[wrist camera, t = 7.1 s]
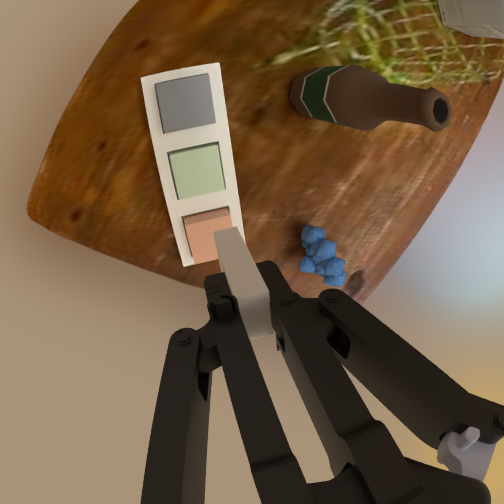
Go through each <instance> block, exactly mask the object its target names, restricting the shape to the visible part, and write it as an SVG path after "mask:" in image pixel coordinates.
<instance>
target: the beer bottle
mask: <svg viewBox="0 0 504 504" xmlns="http://www.w3.org/2000/svg"><path fill="white" fill-rule="evenodd" d="M289 99H290V100H291V102H292V103H293V105H294V107H295V108H296V110H297V111H298V113H299V114H300V115H303V116H307V117H311V118H314V119H318V120H322V121H326V122H331V123H335V124H339V125H343V126H347V127H351V128H355V129H360V130H370V129H373V128H376V127H377V126H379V125H380V124H381V123H383V122H384V121H390V120H394V121H401V122H407V123H413V124H419V125H423V126H425V127H427V128H429V129H430V130H432V131H441V130H442V129H444V128H445V127H446V126H447V125H449V122H450V118H451V113H452V109H451V106H450V102H449V99H448V97H447V96H446V95H444V94H443V93H442V92H440V91H438V90H437V89H435V88H433V87H430V88H429V89H427V90H425V89H420V88H415V87H410V86H405V85H399V84H393V83H389V82H388V81H387V79H386V78H384V77H382V76H380V75H378V74H376V73H374V72H372V71H370V70H368V69H366V68H363V67H361V66H357V65H344V66H333V67H324V68H316V69H311V70H308V71H306V72H305V73H303V74H301V75H299V76H298V77H296V78H294V79H293V82H292V86H291V91H290V96H289Z"/></svg>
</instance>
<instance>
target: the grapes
mask: <svg viewBox="0 0 504 504" xmlns="http://www.w3.org/2000/svg"><path fill="white" fill-rule="evenodd" d="M325 234H326V230H324V229H322V228H320V227H316V226H312V225H306V226H305V227H304V228H303V230H302V233H301V239H303V241H302V247H304V248H306V256H304V257H303V258H302V259H301V261H300V265H299V270H300V271H302V272H305V273H313V272H314V271H315V270H316V274H317V275H320V276H323V277H324V282H323V283H324V284H326V285H329V286H337V287H340V286H342V285H343V284H344V282H345V278H346V272H345V271H343V270H344V264H345V261H344V260H342V259H340V258H337V257H335V253H336V243H335V242H333V241H330V240H327V239H325Z"/></svg>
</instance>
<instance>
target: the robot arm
mask: <svg viewBox="0 0 504 504" xmlns="http://www.w3.org/2000/svg"><path fill="white" fill-rule="evenodd" d="M213 235H214V240H215V245H216V250H217V255H218V259H219V264H220V269H221V272H222V273H218V274H213V275H209V276H206V278H205V281H204V287H205V291H206V296H207V300H208V304H207V308H208V311H209V315H210V320H209V321H208V323H207V324H206V325H205V326H203V327H202V328H200V329H198V330H194V329H192V328H183V329H180V330H178V331H176V332H175V333H174V334H173V335H172V336H171V338H170V341H169V345H168V350H167V354H166V359H165V363H164V368H163V373H162V377H161V382H160V387H159V392H158V397H157V402H156V408H155V413H154V419H153V424H152V429H151V435H150V442H149V447H148V454H147V460H146V467H145V474H144V481H143V489H142V497H141V504H204V500H205V477H206V458H207V440H208V424H209V411H210V397H211V384H212V371H213V370H215V369H216V368H218V367H220V366H222V367H223V371H224V375H225V379H226V383H227V386H228V390H229V394H230V398H231V401H232V405H233V409H234V412H235V416H236V420H237V423H238V427H239V430H240V434H241V437H242V440H243V444H244V447H245V450H246V454H247V457H248V460H249V463H250V468H251V472H252V476H253V479H254V482H255V485H256V488H257V491H258V494H259V497H260V500H261V503H262V504H491V496H490V492H489V489H488V488H487V486H486V485H485V484H484V483H483V480H484V478H485V475H486V472H487V470H488V467H489V464H490V461H491V458H492V455H493V452H494V448H495V446H496V443H497V442H498V441H499V440H500V439H501V438H503V437H504V406H503V405H500V404H497V403H495V402H492V401H489V400H487V399H484V398H481V397H478V396H476V395H473V394H470V393H468V392H467V391H466V390H465V389H464V388H462V387H461V386H460V385H459V384H458V383H456V382H455V381H454V380H453V379H451V378H450V377H449V376H448V375H447V374H446V373H444V372H443V371H442V370H441V369H439V368H438V367H437V366H436V365H435V364H433V363H432V362H431V361H430V360H428V359H427V358H426V357H425V356H424V355H422V354H421V353H420V352H419V351H418V350H416V349H415V348H414V347H413V346H411V345H410V344H409V343H408V342H406V341H405V340H404V339H403V338H401V337H400V336H399V335H398V334H396V333H395V332H394V331H393V330H391V329H390V328H389V327H387V326H386V325H385V324H384V323H382V322H381V321H380V320H379V319H377V318H376V317H375V316H374V315H372V314H371V313H370V312H369V311H367V310H366V309H365V308H363V307H362V306H361V305H360V304H358V303H357V302H356V301H354V300H353V299H352V298H351V297H349V296H348V295H347V294H345V293H344V292H343V291H341V290H339V289H326V290H324V291H322V292H321V293H320V295H319V298H302V297H301V296H300V295H299V294H298V293H295V292H293V291H292V290H291V288H290V286H289V285H288V283H287V281H286V280H285V278H284V276H283V275H282V273H281V271H280V270H279V268H278V266H277V265H276V264H275V263H273V262H272V261H270V260H268V261H264V262H260V263H256V264H255V262H254V260H253V258H252V256H251V254H250V252H249V250H248V248H247V246H246V244H245V242H244V240H243V238H242V236H241V234H240V232H239V230H238V228H237V226H236V227H232V228H227V229H223V230H219V231H214V232H213ZM273 329H274V331H275V333H276V343H277V351H279V350H281V353H282V355H283V357H284V359H285V361H286V364H287V366H288V368H289V371H290V373H291V375H292V377H293V380H294V382H295V384H296V386H297V389H298V390H299V393H300V395H301V398H302V400H303V402H304V404H305V406H306V409H307V411H308V413H309V415H310V417H311V420H312V422H313V424H314V426H315V429H316V431H317V433H318V435H319V437H320V440H321V442H322V444H323V446H324V448H325V451H326V453H327V455H328V458H329V462H330V467H331V470H332V472H333V475H334V478H333V479H331V480H329V481H324V482H317V483H309V484H307V483H306V480H305V478H304V476H303V473H302V471H301V468H300V466H299V464H298V461H297V459H296V457H295V456H294V454H293V453H292V451H291V449H290V446H289V444H288V441H287V439H286V436H285V434H284V431H283V429H282V426H281V423H280V421H279V418H278V416H277V413H276V410H275V408H274V405H273V402H272V400H271V397H270V394H269V392H268V389H267V386H266V384H265V381H264V378H263V376H262V373H261V370H260V368H259V365H258V362H257V359H256V356H255V354H254V351H253V348H252V345H251V343H250V340H251V339H255V338H259V337H262V336H266V335H269V334H272V333H273ZM279 348H280V349H279ZM342 365H343V366H344V367H345V368H346V369H347V370H348V371H349V372H350V373H352V374H353V375H354V376H355V377H356V378H357V379H358V380H359V381H360V382H361V383H362V384H363V385H364V386H365V387H366V388H367V389H368V390H369V391H370V392H371V393H372V394H373V395H374V396H375V397H376V398H377V399H378V400H379V401H380V402H381V403H382V404H383V405H384V406H385V407H386V408H387V409H388V410H390V411H391V412H392V413H393V414H394V415H395V416H396V417H397V418H398V419H399V420H400V421H401V422H402V423H403V424H404V425H405V426H406V427H407V428H408V429H409V430H410V431H412V432H413V433H414V434H415V435H416V436H417V437H418V438H419V439H420V440H422V441H423V442H424V443H426V444H427V445H429V446H430V447H432V448H434V449H436V450H438V455H437V461H438V462H439V463H441V464H444V465H445V466H447V468H448V469H449V471H450V472H449V471H446V470H442V469H439V468H436V467H433V466H430V465H427V464H424V463H421V462H418V461H415V460H412V459H410V458H407V457H403V455H402V453H401V451H400V450H399V448H398V446H397V445H396V443H395V441H394V439H393V438H392V436H391V434H390V433H389V431H388V429H387V428H386V426H385V425H384V424H383V423H382V422H381V421H378V420H375V419H374V418H373V417H372V416H371V414H370V412H369V410H368V408H367V407H366V405H365V403H364V402H363V400H362V398H361V397H360V395H359V393H358V392H357V390H356V388H355V386H354V385H353V383H352V381H351V380H350V378H349V377H348V375H347V373H346V371H345V369H344V368H343V366H342Z"/></svg>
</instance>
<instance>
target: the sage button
mask: <svg viewBox="0 0 504 504" xmlns="http://www.w3.org/2000/svg"><path fill="white" fill-rule="evenodd" d="M170 160H171V164H172V169H173V174H174V178H175V183H176V187H177V192H178V196H179V200H182V199H186V198H190V197H195V196H199V195H203V194H208V193H212V192H217V191H222V190H225V187H224V180H223V174H222V168H221V162H220V155H219V149H218V145H217V144H216V143H215V142H211V143H206V144H201V145H196V146H192V147H187V148H182V149H178V150H174V151H170Z"/></svg>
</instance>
